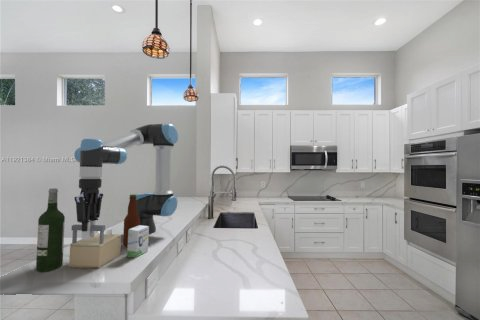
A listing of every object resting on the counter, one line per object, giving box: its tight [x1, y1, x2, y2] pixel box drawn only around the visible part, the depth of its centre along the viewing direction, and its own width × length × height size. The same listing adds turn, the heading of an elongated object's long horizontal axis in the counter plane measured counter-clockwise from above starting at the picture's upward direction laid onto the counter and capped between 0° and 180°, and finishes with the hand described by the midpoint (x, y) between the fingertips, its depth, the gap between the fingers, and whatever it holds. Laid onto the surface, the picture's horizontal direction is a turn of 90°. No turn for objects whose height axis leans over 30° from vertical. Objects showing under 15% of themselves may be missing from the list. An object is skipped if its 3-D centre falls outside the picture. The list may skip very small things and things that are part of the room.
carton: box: [68, 236, 122, 269], centre depth 96 cm, size 14×12×8 cm
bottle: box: [122, 194, 140, 248], centre depth 116 cm, size 7×7×25 cm
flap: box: [69, 224, 122, 247], centre depth 96 cm, size 14×12×8 cm
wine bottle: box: [35, 188, 66, 272], centre depth 89 cm, size 8×8×30 cm
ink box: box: [126, 225, 150, 259], centre depth 104 cm, size 9×5×12 cm, turn 168°
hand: (88, 238), depth 91 cm, fingers closed on flap, 2 cm apart
